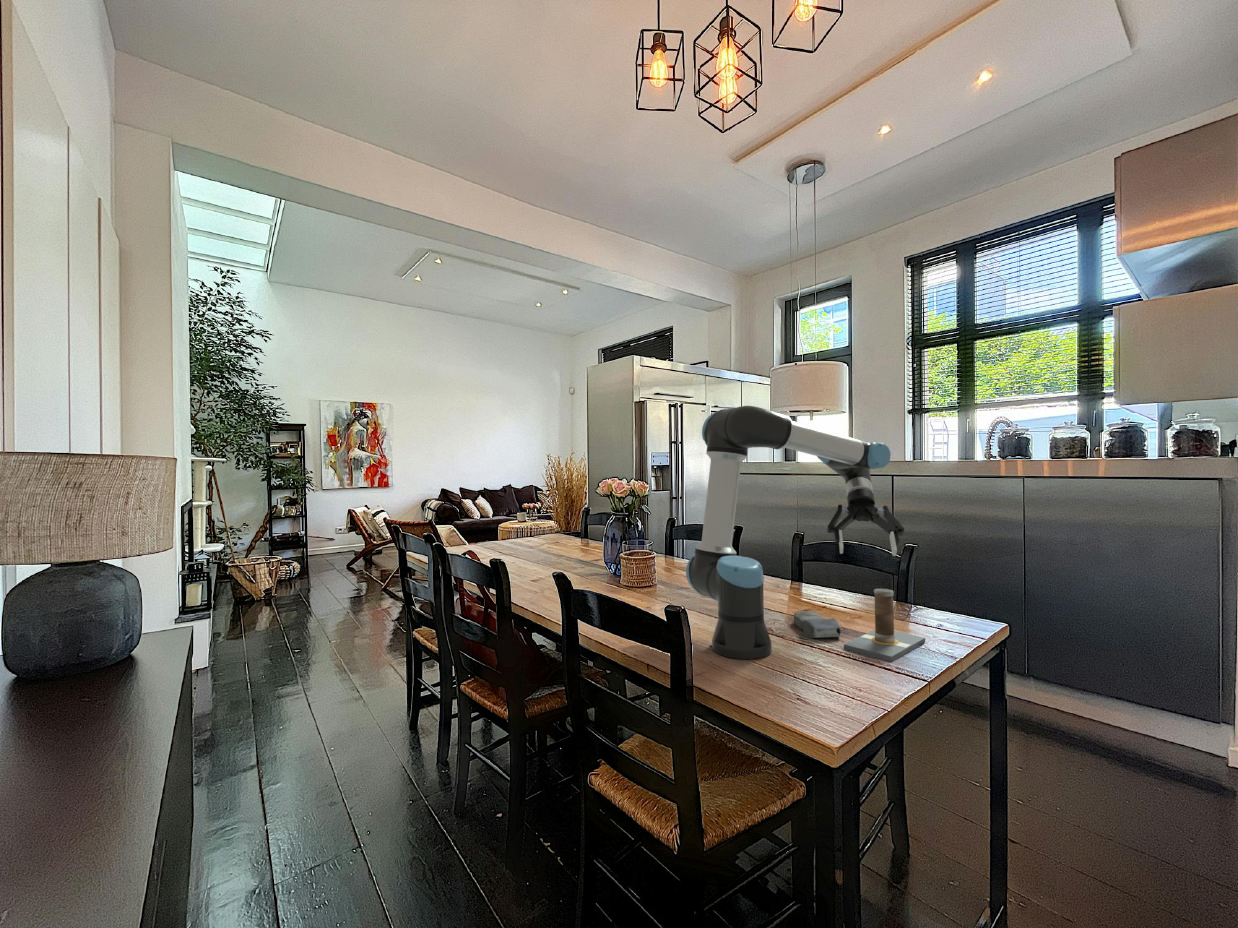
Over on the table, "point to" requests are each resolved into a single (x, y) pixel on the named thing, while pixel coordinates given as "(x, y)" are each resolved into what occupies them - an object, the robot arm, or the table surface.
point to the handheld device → (816, 625)
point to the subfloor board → (884, 645)
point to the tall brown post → (884, 616)
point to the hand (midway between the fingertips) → (867, 552)
